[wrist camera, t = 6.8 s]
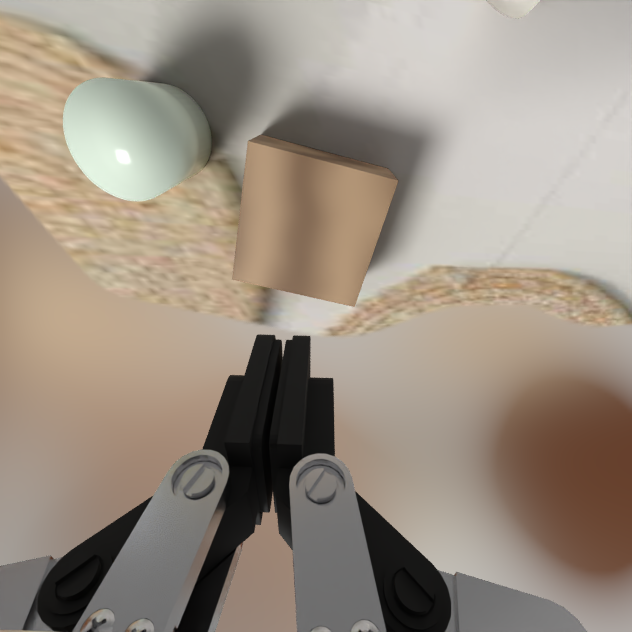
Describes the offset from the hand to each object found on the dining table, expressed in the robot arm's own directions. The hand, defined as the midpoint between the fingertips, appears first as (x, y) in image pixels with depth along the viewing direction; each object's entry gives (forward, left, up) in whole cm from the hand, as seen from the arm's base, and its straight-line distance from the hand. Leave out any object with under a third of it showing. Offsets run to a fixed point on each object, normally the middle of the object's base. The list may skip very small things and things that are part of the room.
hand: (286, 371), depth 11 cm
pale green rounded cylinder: (+11, -5, -20) cm, 24 cm away
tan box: (0, +1, -21) cm, 21 cm away
